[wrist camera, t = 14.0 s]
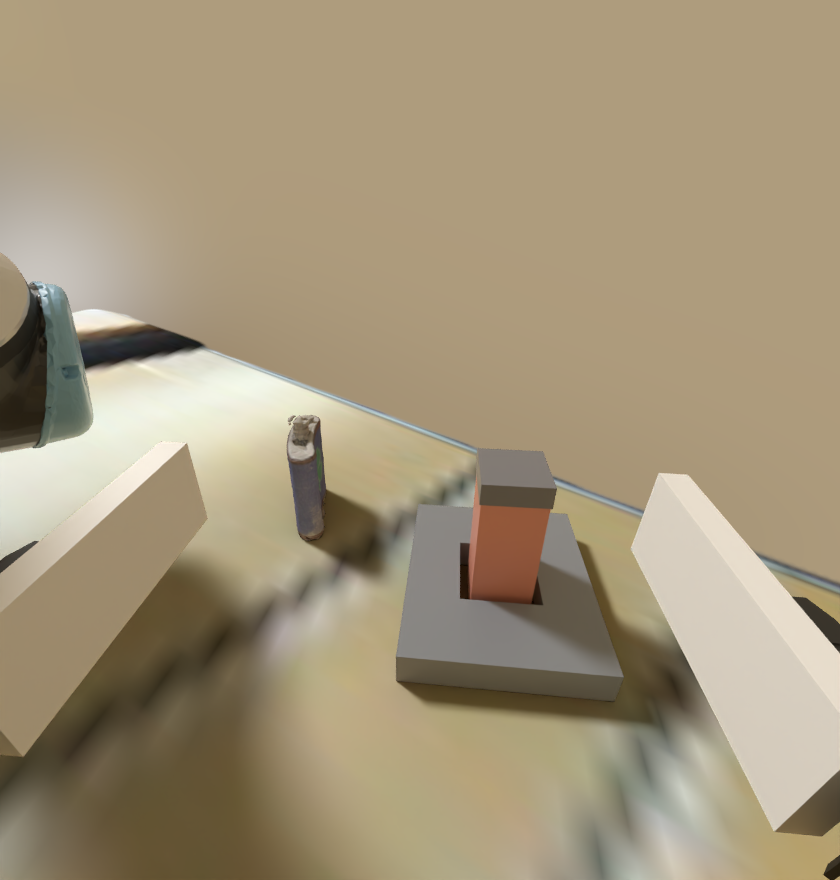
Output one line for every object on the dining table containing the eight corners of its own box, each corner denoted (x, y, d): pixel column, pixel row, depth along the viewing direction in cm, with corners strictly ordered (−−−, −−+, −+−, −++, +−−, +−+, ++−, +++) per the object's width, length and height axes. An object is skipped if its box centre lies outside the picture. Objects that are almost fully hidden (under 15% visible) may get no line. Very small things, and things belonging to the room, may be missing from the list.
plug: (467, 616, 33) (481, 484, 27) (466, 571, 37) (477, 448, 31) (529, 621, 32) (556, 488, 27) (520, 574, 37) (542, 451, 31)
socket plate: (396, 680, 28) (396, 656, 27) (418, 524, 42) (418, 504, 41) (614, 701, 27) (623, 677, 26) (562, 534, 41) (566, 514, 40)
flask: (324, 540, 40) (312, 439, 35) (292, 543, 40) (275, 441, 35) (328, 485, 48) (318, 396, 43) (301, 487, 48) (288, 398, 43)
